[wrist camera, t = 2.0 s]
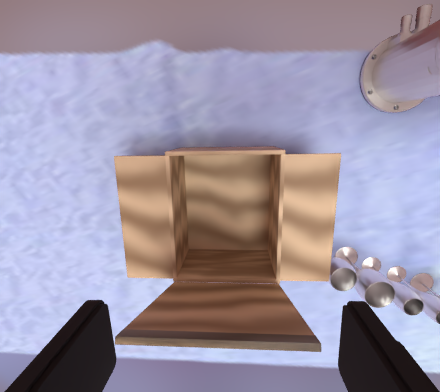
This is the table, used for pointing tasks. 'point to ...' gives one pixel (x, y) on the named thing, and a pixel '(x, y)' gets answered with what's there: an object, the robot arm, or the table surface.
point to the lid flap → (221, 319)
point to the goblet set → (384, 284)
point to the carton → (228, 214)
